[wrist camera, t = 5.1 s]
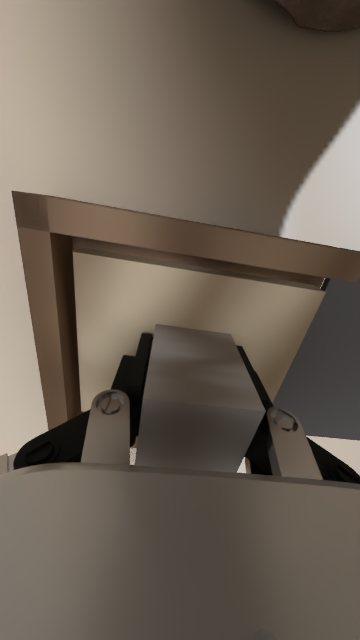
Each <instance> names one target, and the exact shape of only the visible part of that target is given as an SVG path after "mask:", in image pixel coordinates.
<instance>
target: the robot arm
mask: <svg viewBox="0 0 360 640" xmlns="http://www.w3.org/2000/svg"><path fill="white" fill-rule="evenodd" d="M152 343H153V337H152V334H147V333H142V334H141V337H140V341H139V344H138V348H137V352H136V355H135V356H130V355H123V356H122V359H121V362H120V365H119V367H118V370H117V373H116V375H115V378H114V381H113V384H112V386H111V389H110V390H105V391H103V392H101V393H99V394H98V395H96V397H95V398H94V399H93V401H92V404H91V409H90V410H88V411H86V412H84V413H82V414H80V415H78V416H76V417H74V418H72V419H70V420H68V421H66V422H65V423H63V424H61V425H59V426H57V427H55V428H53V429H51V430H49V431H47V432H45V433H43V434H41V435H40V436H38V437H36V438H34V439H32V440H31V441H29V442H27V443H26V444H25V445H24V446H23V447H22V448H21V449H20V450H19V451H18V453H15V454H13V455H10V456H8V454H7V453H6V454H4V455H1V456H0V640H360V476H359V475H358V474H357V473H356V472H355V471H354V470H353V469H352V468H350V467H349V466H348V465H347V464H345V463H344V462H342V461H341V460H339V459H338V458H337V457H335V456H334V455H332V454H331V453H329V452H328V451H326V450H325V449H324V448H322V447H321V446H319V445H318V444H316V443H315V442H313V441H312V440H310V439H309V438H308V437H306V435H305V433H304V430H303V428H302V425H301V423H300V421H299V420H298V419H297V417H296V416H295V415H294V414H292V413H291V412H290V411H288V410H286V409H284V408H281V407H274V406H273V404H272V402H271V400H270V398H269V396H268V394H267V392H266V390H265V388H264V386H263V384H262V382H261V380H260V378H259V376H258V374H257V372H256V371H254V369H253V367H252V365H251V363H250V361H249V359H248V357H247V355H246V353H245V351H244V349H243V347H242V346H239V345H236V347H237V349H238V351H239V353H240V356H241V358H242V360H243V362H244V364H245V367H246V369H247V371H248V373H249V376H250V378H251V380H252V382H253V384H254V387H255V389H256V391H257V393H258V395H259V398H260V400H261V402H262V404H263V406H264V409H265V411H266V412H265V414H264V416H263V418H262V420H261V422H260V424H259V426H258V428H257V430H256V433H255V435H254V437H253V439H252V441H251V443H250V445H249V447H248V449H247V451H246V454H245V465H246V473H233V472H220V471H207V470H194V469H180V468H166V467H152V466H137V465H130V447H132V446H133V445H134V444H135V441H136V436H138V435H139V427H140V418H141V410H142V402H143V395H144V389H145V383H146V378H147V372H148V366H149V360H150V355H151V349H152Z"/></svg>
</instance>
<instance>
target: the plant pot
mask: <svg viewBox="0 0 360 640" xmlns="http://www.w3.org/2000/svg"><path fill="white" fill-rule="evenodd" d="M275 1H276V2H277V3H278V4H280V5H281V6H282V7H283V8H284V9H285V10H286V11H287V12H288V13H289V14H290V15H292V17H293V19H294V21H295V22H296V24H297V25H298V26H301V27H305V28H309V29H314V30H320V31H346V30H352V29H357V28H360V0H275Z"/></svg>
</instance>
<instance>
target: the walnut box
mask: <svg viewBox="0 0 360 640" xmlns="http://www.w3.org/2000/svg"><path fill="white" fill-rule="evenodd" d="M12 197H13V204H14V210H15V216H16V223H17V229H18V236H19V242H20V249H21V255H22V262H23V268H24V274H25V281H26V287H27V294H28V300H29V307H30V313H31V319H32V326H33V332H34V339H35V345H36V352H37V358H38V364H39V371H40V377H41V384H42V390H43V397H44V403H45V410H46V416H47V422H48V429H49V430H51V429H53V428H55V427H57V426H59V425H61V424H63V423H65V422H66V421H68V420H70V419H72V418H74V417H76V416H78V415H80V414H82V413H84V412H83V411H81V396H80V378H79V359H78V340H77V321H76V303H75V284H74V265H73V252H74V251H76V250H79V249H81V248H88V249H94V250H100V251H106V252H113V253H119V254H125V255H131V256H137V257H144V258H150V259H156V260H162V261H168V262H175V263H181V264H187V265H193V266H199V267H206V268H212V269H218V270H224V271H230V272H237V273H243V274H249V275H255V276H261V277H267V278H274V279H280V280H286V281H292V282H298V283H305V284H311V285H314V286H316V287H317V288H319V289H320V287H321V285H322V282H323V280H324V278H331V279H337V280H343V281H349V282H355V283H356V282H357V280H358V278H359V276H360V253H359V252H355V251H350V250H346V249H341V248H336V247H332V246H327V245H321V244H315V243H310V242H304V241H298V240H293V239H288V238H282V237H277V236H271V235H266V234H260V233H254V232H249V231H243V230H238V229H232V228H227V227H221V226H216V225H210V224H204V223H199V222H193V221H188V220H182V219H177V218H171V217H165V216H160V215H154V214H149V213H143V212H138V211H132V210H127V209H121V208H115V207H110V206H104V205H99V204H93V203H88V202H82V201H76V200H71V199H65V198H60V197H54V196H48V195H41V194H33V193H25V192H17V191H12ZM137 443H138V436H136V441H135V444H134V445H133V446H132V447H130V448H137ZM244 457H245V456H244Z"/></svg>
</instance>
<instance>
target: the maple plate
mask: <svg viewBox="0 0 360 640" xmlns="http://www.w3.org/2000/svg"><path fill="white" fill-rule="evenodd" d="M73 265H74V284H75V303H76V321H77V340H78V359H79V378H80V396H81V411H83V412H86V411H88V410H90V409H91V404H92V401H93V399H94V398H95V397H96V395H98V394H99V393H101V392H103V391H105V390H110V389H111V386H112V384H113V381H114V378H115V375H116V373H117V370H118V367H119V365H120V362H121V359H122V356H123V355H130V356H135V355H136V352H137V348H138V344H139V341H140V337H141V334H142V333H147V334H152V337H153V343H152V349H151V355H150V360H149V366H148V372H147V378H146V383H145V389H144V395H143V402H142V410H141V418H140V427H139V435H138V443H137V452H136V460H135V465H137V466H152V467H166V468H180V469H194V470H207V471H220V472H233V473H236V472H237V470H238V468H239V466H240V464H241V462H242V459H243V458H244V456H245V454H246V451H247V449H248V447H249V445H250V443H251V441H252V439H253V437H254V435H255V433H256V430H257V428H258V426H259V424H260V422H261V420H262V418H263V416H264V414H265V412H266V411H265V409H264V406H263V404H262V402H261V400H260V398H259V395H258V393H257V391H256V389H255V387H254V384H253V382H252V380H251V378H250V376H249V373H248V371H247V369H246V367H245V364H244V362H243V360H242V358H241V356H240V353H239V351H238V349H237V347H236V345H239V346H242V347H243V349H244V351H245V353H246V355H247V357H248V359H249V361H250V363H251V365H252V367H253V369H254V371H256V372H257V374H258V376H259V378H260V380H261V382H262V384H263V386H264V388H265V390H266V392H267V394H268V396H269V398H270V400H271V402H272V403H273V401H274V399H275V396H276V394H277V392H278V390H279V388H280V386H281V384H282V382H283V380H284V378H285V376H286V374H287V372H288V370H289V368H290V365H291V363H292V361H293V359H294V357H295V355H296V353H297V351H298V349H299V347H300V345H301V343H302V341H303V339H304V337H305V334H306V332H307V330H308V328H309V326H310V324H311V322H312V320H313V318H314V316H315V314H316V312H317V310H318V308H319V306H320V304H321V301H322V299H323V297H324V295H325V293H326V292H325V291H323V290H321V289H319V288H317V287H316V286H314V285H311V284H305V283H298V282H292V281H286V280H280V279H274V278H267V277H261V276H255V275H249V274H243V273H237V272H230V271H224V270H218V269H212V268H206V267H199V266H193V265H187V264H181V263H175V262H168V261H162V260H156V259H150V258H144V257H137V256H131V255H125V254H119V253H113V252H106V251H100V250H94V249H88V248H81V249H79V250H76V251H74V252H73Z"/></svg>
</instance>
